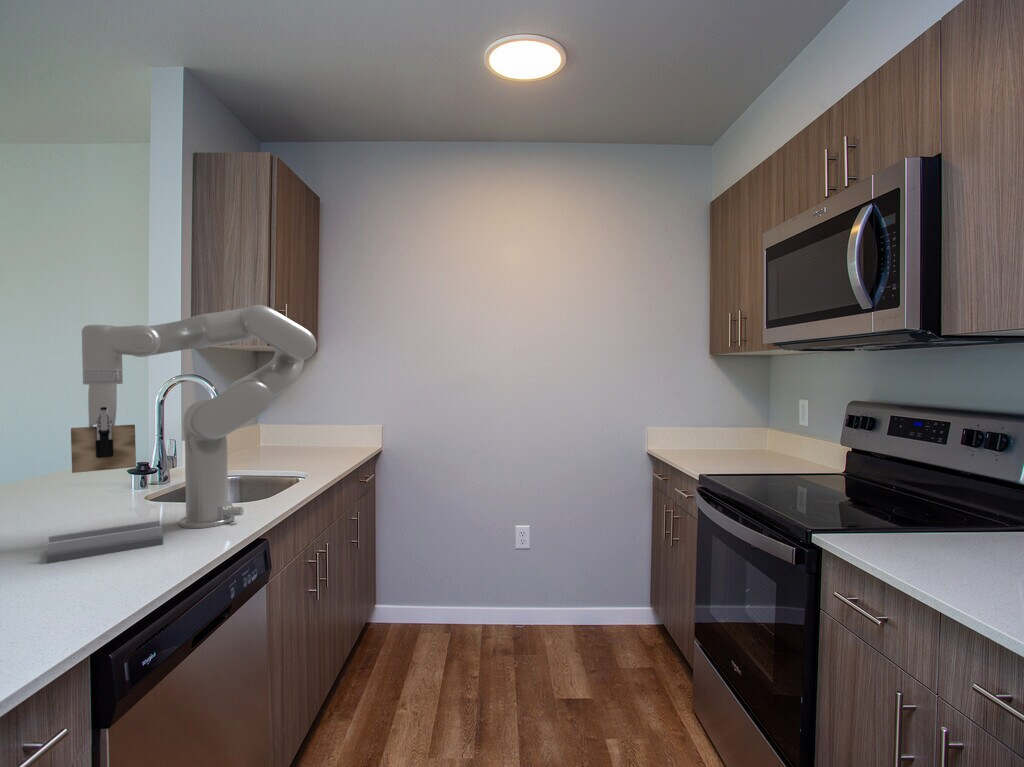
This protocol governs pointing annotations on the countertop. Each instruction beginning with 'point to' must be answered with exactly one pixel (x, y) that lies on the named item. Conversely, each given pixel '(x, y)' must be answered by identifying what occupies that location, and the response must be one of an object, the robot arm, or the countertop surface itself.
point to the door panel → (86, 449)
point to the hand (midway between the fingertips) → (104, 455)
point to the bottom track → (103, 541)
